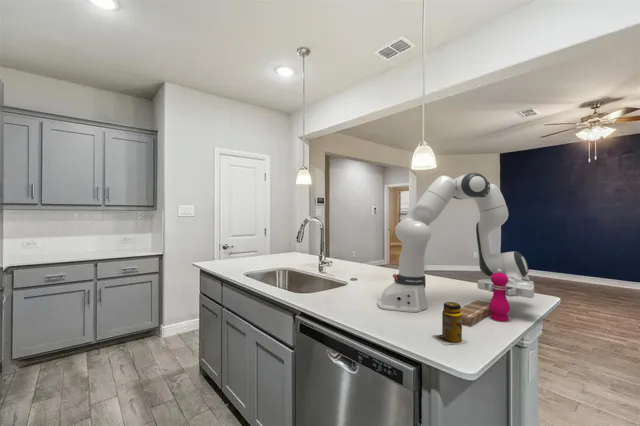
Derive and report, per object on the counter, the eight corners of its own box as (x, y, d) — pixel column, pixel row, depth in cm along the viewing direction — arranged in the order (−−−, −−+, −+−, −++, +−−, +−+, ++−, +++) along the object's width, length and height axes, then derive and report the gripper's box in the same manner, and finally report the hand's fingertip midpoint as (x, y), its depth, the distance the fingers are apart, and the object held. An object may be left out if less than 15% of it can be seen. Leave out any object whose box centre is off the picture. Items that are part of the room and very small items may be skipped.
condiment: (467, 342, 99) (467, 306, 99) (445, 345, 97) (445, 308, 97) (453, 334, 106) (453, 299, 106) (431, 336, 104) (431, 301, 104)
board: (470, 327, 113) (470, 318, 113) (449, 321, 118) (449, 313, 118) (496, 310, 131) (496, 303, 131) (477, 306, 137) (477, 299, 137)
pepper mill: (484, 316, 124) (485, 267, 124) (501, 315, 125) (501, 267, 125) (496, 322, 117) (497, 270, 117) (514, 321, 118) (514, 270, 118)
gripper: (483, 274, 137) (471, 278, 128) (538, 282, 122) (528, 287, 113) (483, 288, 137) (471, 293, 128) (538, 297, 122) (528, 304, 113)
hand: (498, 291), depth 120 cm, fingers closed on pepper mill, 5 cm apart
